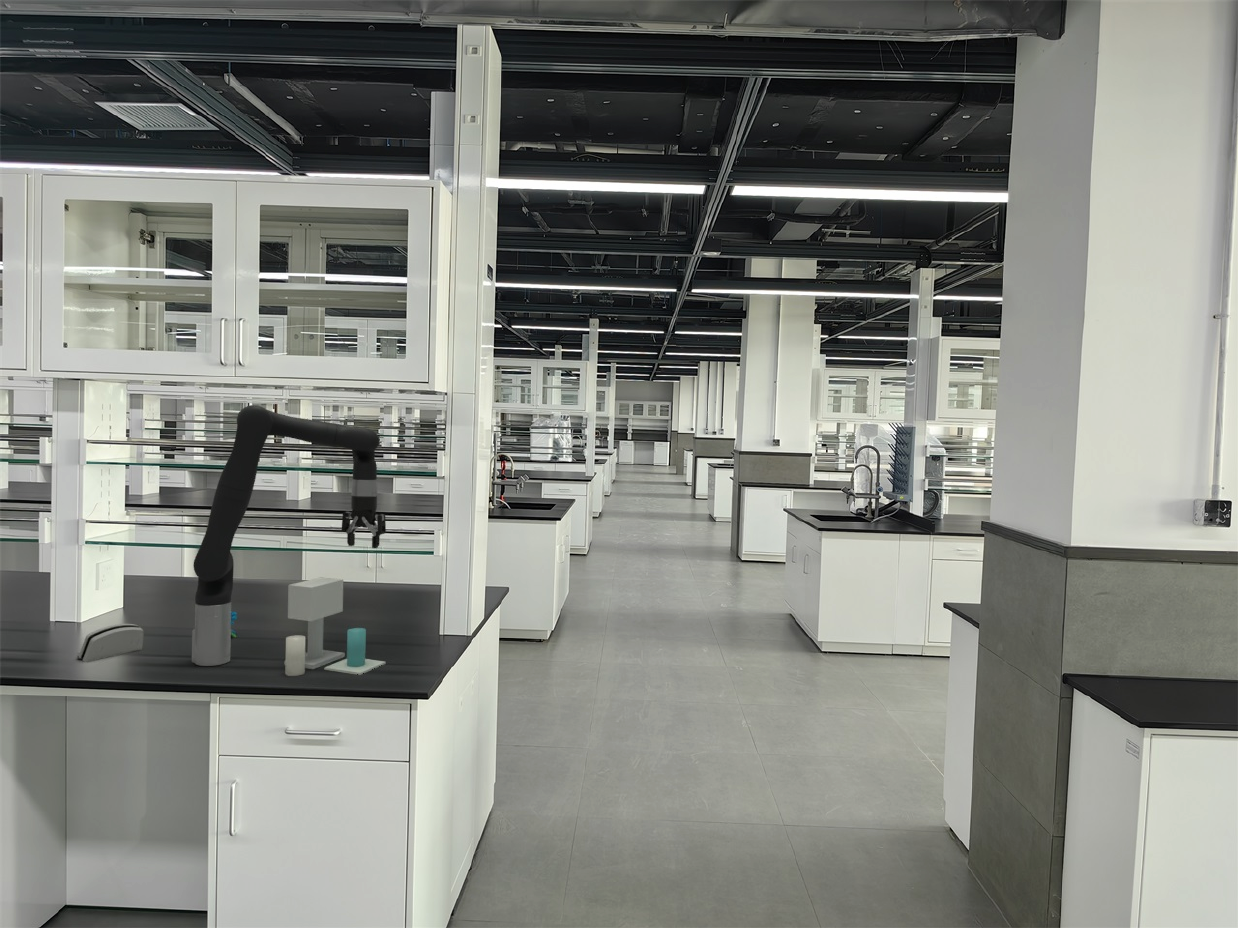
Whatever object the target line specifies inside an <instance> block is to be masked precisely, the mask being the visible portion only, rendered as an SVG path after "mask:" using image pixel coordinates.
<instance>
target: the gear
mask: <svg viewBox="0 0 1238 928" xmlns="http://www.w3.org/2000/svg"><path fill="white" fill-rule="evenodd" d="M237 614H238V613H237V612H236V611H232V610H231V627H232V626H233V625H234V624H235V622H234V621H236V619H237V618H238V616H237ZM236 633H237V632H236V631H235V630H234V629H232V628H231V637H233V638H234V639H236V638H237V635H236Z"/></svg>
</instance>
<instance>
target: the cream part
mask: <svg viewBox="0 0 1238 928" xmlns="http://www.w3.org/2000/svg"><path fill="white" fill-rule="evenodd" d="M305 653H306V636H305V635H301V634H299V635H298V634H297V635H295V634H294V635H290V636H289V635H288V636H286V637H285V660H286V665H284V666H285V669H284V670H285V671H284V674H285V676H289V677H297V676H301V675H304V674H305V672H306V668H305Z"/></svg>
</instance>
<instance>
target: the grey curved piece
mask: <svg viewBox="0 0 1238 928" xmlns="http://www.w3.org/2000/svg"><path fill="white" fill-rule="evenodd" d="M144 635H145V634H144V630H143V628H142V627H140V625H137V624H134V623H133V624H132V623H118V624H112V625H108V626H105V627H102V628H99V629H96V630H94V631H92V632H89V633H88V634H86V636H85V638H84V641H83V643H82V646H81V649H80V651H79V652H77V654H76V657H75V660H80V659H81V660H82V662H84V663H88V662H92V661H95V660H96V661H97V660H99V659H100V660H101V659H105V658H109V657H114V656H118V655H122V654H128V653H133V652H136V651H140V650H141V651H142V650H143V642H144Z"/></svg>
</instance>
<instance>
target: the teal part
mask: <svg viewBox="0 0 1238 928" xmlns="http://www.w3.org/2000/svg"><path fill="white" fill-rule="evenodd" d="M366 632H367V630H366V628H365V627H354V628H349V629H347V633H346V634H347V636H346V637H347V638H346V639H347V641H346V644H347V645H346V646H347V647H346V659H347V666H349V667H360V666H363V665H365V659H366V644H367V643H366V642H367V641H366V639H367V635H366V634H367V633H366Z"/></svg>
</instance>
